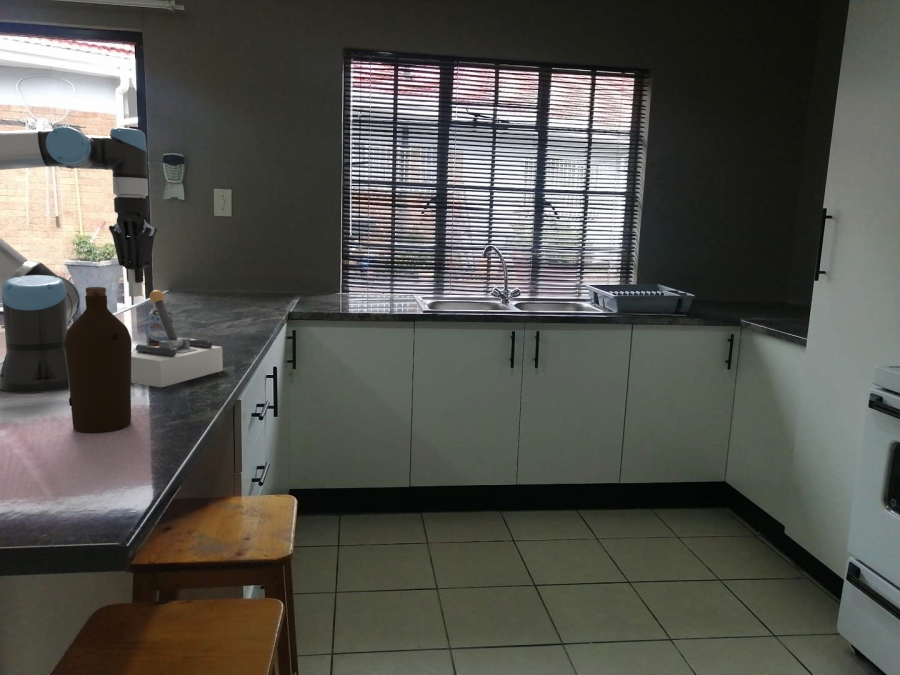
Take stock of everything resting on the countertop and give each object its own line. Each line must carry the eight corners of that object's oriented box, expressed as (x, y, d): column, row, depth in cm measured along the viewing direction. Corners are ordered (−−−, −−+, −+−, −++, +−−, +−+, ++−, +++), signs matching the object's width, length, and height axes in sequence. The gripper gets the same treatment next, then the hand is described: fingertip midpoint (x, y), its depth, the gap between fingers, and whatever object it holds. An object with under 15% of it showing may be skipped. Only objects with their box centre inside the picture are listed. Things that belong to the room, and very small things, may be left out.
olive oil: (145, 418, 128) (139, 286, 124) (117, 435, 117) (110, 292, 113) (89, 415, 128) (81, 283, 124) (56, 433, 117) (47, 289, 113)
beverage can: (146, 353, 185) (145, 310, 183) (151, 348, 192) (149, 306, 190) (171, 353, 187) (170, 310, 185) (174, 348, 194) (173, 306, 192)
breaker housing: (161, 387, 150) (159, 350, 149) (117, 380, 155) (115, 344, 154) (222, 370, 169) (222, 337, 167) (181, 364, 173) (181, 332, 172)
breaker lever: (175, 346, 159) (153, 288, 159) (165, 351, 161) (144, 293, 161) (186, 344, 163) (164, 287, 163) (176, 348, 164) (155, 292, 164)
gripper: (164, 198, 161) (168, 296, 165) (123, 197, 166) (128, 292, 170) (139, 196, 154) (144, 299, 158) (97, 195, 159) (102, 295, 163)
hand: (135, 295), depth 164 cm, fingers closed
